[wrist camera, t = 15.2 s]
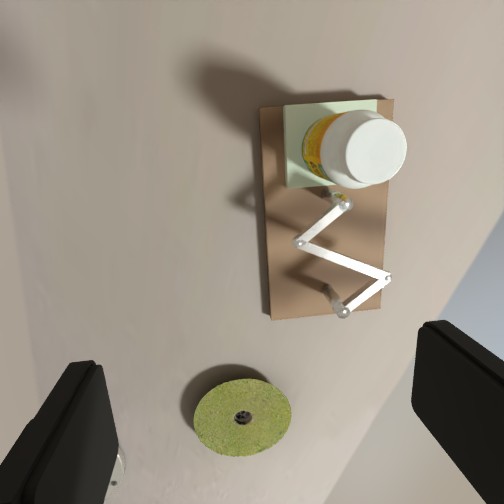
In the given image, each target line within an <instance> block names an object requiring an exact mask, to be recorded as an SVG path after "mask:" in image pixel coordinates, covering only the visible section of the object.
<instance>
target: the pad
mask: <svg viewBox="0 0 504 504" xmlns="http://www.w3.org/2000/svg"><path fill="white" fill-rule="evenodd" d="M353 110H370V111H374V112H376V113H377V99H373V100H357V101H342V102H326V103H311V104H295V105H284V106H283V120H284V150H285V181H286V188H288V189H290V188H302V187H314V186H326V185H337V184H335V183H332V182H330V181H327V180H325V179H323V178H320V177H318V176H316V175H314V174H313V173H311V172H310V171H309V170H308V169H307V168H306V166H305V164H304V162H303V159H302V155H301V142H302V138H303V136H304V134H305V132H306V130H307V129H308V127H309V126H310V125H311V124H312V123H313V122H315V121H316V120H318V119H320V118H322V117H325V116H328V115H333V114H338V113H343V112H348V111H353Z"/></svg>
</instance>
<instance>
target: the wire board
mask: <svg viewBox="0 0 504 504" xmlns="http://www.w3.org/2000/svg"><path fill="white" fill-rule="evenodd" d="M393 105H394V99H386V100H377V113H378V114H380V115H382V116H383V117H384V118H386V119H388V120H390V121H393ZM259 120H260V139H261V157H262V175H263V194H264V212H265V230H266V249H267V267H268V285H269V304H270V317H271V320H282V319H291V318H300V317H309V316H318V315H327V314H336V313H335V311H334V310H333V308H332V307H331V305H330V304H329V302H328V301H327V299H326V298H325V296H324V295H323V293H322V292H321V288H322V286H323V285H325V284H330V285H331V286H332V287H333V289H334V290H335V291H336V293H337V294H338V295H339V296H340V298H341V299H342V300H343V301H345V300H346V299H347V298H348V297H350V296H351V295H352V294H353V293H355V292H356V291H357V290H359V289H360V288H361V287H362V286H364V285H365V284H366V283H368V282H369V281H370V280H371V279H373V278H374V277H372V276H369V275H366V274H364V273H361V272H359V271H356V270H353V269H351V268H348V267H346V266H343V265H340V264H338V263H335V262H332V261H330V260H327V259H325V258H322V257H319V256H317V255H314V254H311V253H309V252H306V251H304V250H301V249H298V248H295V247H294V246H293V245H292V239H293V238H294V237H295V236H296V235H297V234H299V233H300V232H301V231H302V230H303V229H305V228H306V227H307V226H308V225H309V224H311V223H312V222H313V221H314V220H315V219H317V218H318V217H319V216H320V215H321V214H323V213H324V212H325V211H326V210H327V209H328V208H330V207H331V206H332V204H330V203H329V202H327V201H325V200H324V199H323V198H322V196H321V193H322V191H323V190H324V189H325V188H330V189H333V190H335V191H337V192H339V193H341V194H343V195H346V196H348V197H350V198H351V199H352V200H353V207H352V208H351V209H350V210H349V211H344V212H343V213H342V214H341V215H340V216H338V217H337V218H336V219H335V220H334V221H332V222H331V223H330V224H329V225H328V226H326V227H325V228H324V229H323V230H322V231H320V232H319V233H318V234H317V235H316V236H314V237H313V238H312V239H311V240H309V241H311V242H314V243H316V244H319V245H321V246H324V247H326V248H329V249H331V250H334V251H337V252H339V253H342V254H344V255H347V256H349V257H352V258H355V259H357V260H360V261H362V262H365V263H367V264H370V265H372V266H375V267H378V268H380V269H383V260H384V244H385V229H386V213H387V198H388V183H389V180H387V181H385V182H382V183H379V184H373V185H370V186H367V187H364V188H358V189H351V188H345V187H342V186H339V185H326V186H314V187H302V188H290V189H288V188H286V181H285V150H284V120H283V106H277V107H261V108H259ZM381 291H382V288H381V289H379V290H378V291H377V292H375V293H374V294H373V295H372V296H370V297H369V298H368V299H366V300H365V301H364V302H363V303H361V304H360V305H359V306H357V307H356V308H355V309H354V310H352V311H351V312H354V311H363V310H372V309H380V306H381Z"/></svg>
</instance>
